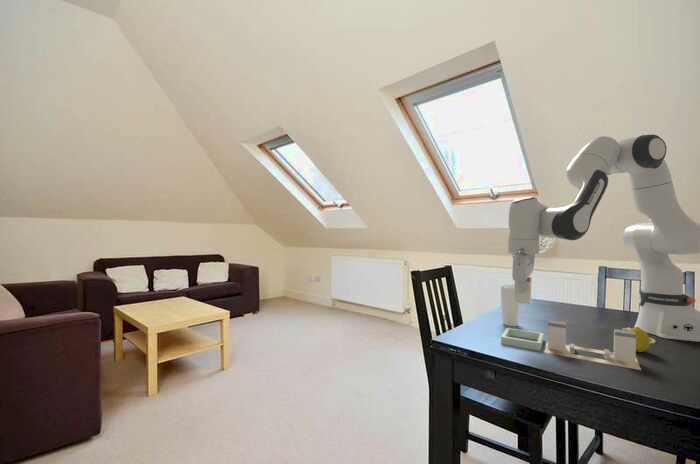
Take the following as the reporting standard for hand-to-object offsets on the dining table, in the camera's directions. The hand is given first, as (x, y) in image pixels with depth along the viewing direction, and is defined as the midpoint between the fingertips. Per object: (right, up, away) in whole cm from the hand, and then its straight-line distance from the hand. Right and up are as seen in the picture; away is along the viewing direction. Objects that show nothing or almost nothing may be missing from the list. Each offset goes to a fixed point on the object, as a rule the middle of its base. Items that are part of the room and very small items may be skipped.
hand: (522, 291), depth 109 cm
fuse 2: (+21, -17, -15) cm, 30 cm away
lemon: (+30, -18, -8) cm, 36 cm away
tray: (0, -17, 0) cm, 17 cm away
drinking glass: (+5, -17, +20) cm, 27 cm away
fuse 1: (+7, -17, -6) cm, 19 cm away
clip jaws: (+14, -17, -10) cm, 25 cm away
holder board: (+14, -17, -10) cm, 25 cm away
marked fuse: (0, -4, 0) cm, 4 cm away
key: (+42, -18, +6) cm, 45 cm away
